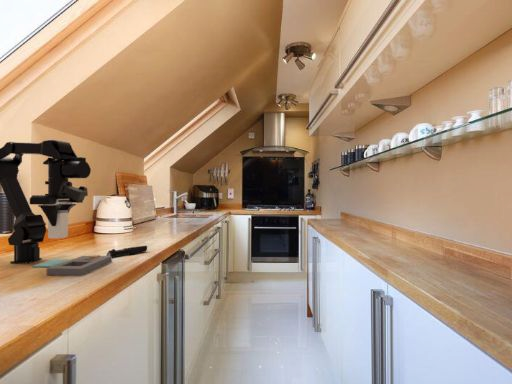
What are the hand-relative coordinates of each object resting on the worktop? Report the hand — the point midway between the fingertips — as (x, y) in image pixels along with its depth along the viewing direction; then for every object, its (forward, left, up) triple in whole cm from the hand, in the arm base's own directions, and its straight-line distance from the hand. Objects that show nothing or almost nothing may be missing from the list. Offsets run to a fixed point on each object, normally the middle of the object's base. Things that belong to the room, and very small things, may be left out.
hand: (58, 225), depth 104 cm
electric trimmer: (+16, +16, -13) cm, 26 cm away
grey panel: (+11, -5, -13) cm, 18 cm away
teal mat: (0, 0, -13) cm, 13 cm away
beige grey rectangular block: (0, 0, -4) cm, 4 cm away
